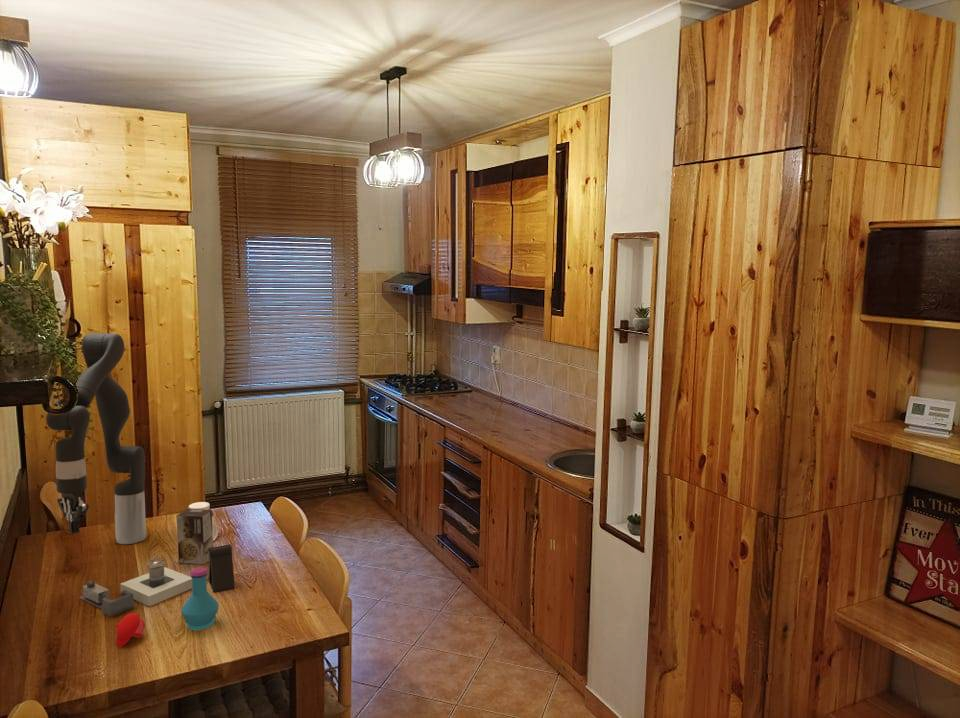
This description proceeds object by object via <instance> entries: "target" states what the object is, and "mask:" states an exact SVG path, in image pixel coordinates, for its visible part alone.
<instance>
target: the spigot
mask: <svg viewBox="0 0 960 718" xmlns="http://www.w3.org/2000/svg"><path fill="white" fill-rule="evenodd" d="M165 565H166V559H165V558H161V557H159V558H158V557H157V558H152V559H150V560H148V561H147V567H148V573H149V581H150V587H151V588H156V587H158V586H161V585H163V584H165V578H164V567H165Z"/></svg>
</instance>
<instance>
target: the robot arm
mask: <svg viewBox="0 0 960 718" xmlns="http://www.w3.org/2000/svg"><path fill="white" fill-rule="evenodd" d="M81 351H82V355H83V359H84V361H85V365H86V369H85V370H83V371H81V373H82V374H81V376H80V377H79V378H78V380H77V382H76V386H77V389H78V392H79V393H78V402H77V404H76V405H75V407H74V408H73V409H72V410H71V411H70V412H67V413H65V414H59V415H53V414H50V413H48V412H47V413H46V417H45V422H46V425H47V426H48V428H49V429H50V430H52V431H72V434H71V436H69V437H64V438H60V439H59V440H57V441H56V443H55V481H56V483H55V485H56V492H57V493H59V494H61V497H60V498H57V505H58V507H59V508H60V510H61V514H62V515H63V517H64V518H66V520H67V521H68V532H69V534H72V535H74V534H77V533H79V532H80V520H82V519H84V518H85V516H86V514H87V511H88V509H89V506H90V505H89V504H88V503H85V502H84V495H83V492H85V490H87V489H88V477H87V463H86V459H85V457H86V456H85V455H86V454H85V441H86V436H87V432H88V428H89V424H90V421H91V420H90V419H91V415H90V411H89V410H88V408H89V407H90V405H92V402H93V400H94V399H95V404H96V407H97V411H98V412H97V413H98V416H99V420H100V424H101V427H102V429H101V430H102V433H103V439H104V447H105V448H104V449H105V459H106V463H107V467H108V469H109V471H110V472H111V473H114V474H130V475H129V478H128V479H125V480H123V481H120V482H117V483H116V484H115V485H114V489H113V490H114V491H113V492H114V528H115V529H114V531H115V539H116V543H117V544H120V545H130V544H132V545H133V544H138V543H140V542H142V541H145V540H146V538H147V528H146V527H147V526H146V525H147V524H146V522H147V521H146V501H145V498H146V497H145V484H146V483H145V480H146V476H145V475H146V455H145V450H144V448H143V447H142V446H140V445H139V446H137V445H131V446H130V445H121V443H120V442H121V441H120V434H121V432H122V430H123V429H124V426H126V424H127V421H128V420H129V417H130V414H131V409H130V404H129V398H128V394H127V392H126V391H125V389H124V388H123V387H122V386H121V385H120V383H118V382H117V381H116V380H114V378H113V377H112V376H111V375H110V374H111V373H112V372H113V370H114V368H115V367H116V366H117V365H118V363H120V362H121V360H122V358H123V355H124V352H125V342H124V339H123V337H122V336H121V335H120V334H118V333H106V332H105V333H104V332H103V333H97V332H96V333H92V332H91V333H86V334H85V335H84V336H83V338H82V341H81ZM54 404H57V405H61V404H62V396H61V397H60V398H59V399H58V400H56V402H54Z"/></svg>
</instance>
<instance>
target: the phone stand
mask: <svg viewBox="0 0 960 718" xmlns="http://www.w3.org/2000/svg"><path fill="white" fill-rule="evenodd" d="M232 548H233V547H232V545H231V544H224V545H218V546H213V547H212V548H209V561H208V562H209V563H208V578H207V581H208V583H209V585H210V588H211V590H212V593H219V592H224V591H228V590H233V589H236V588H235V587H236V586H235V576H234V575H235V573H234V561H233V549H232Z"/></svg>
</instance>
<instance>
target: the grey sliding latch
mask: <svg viewBox="0 0 960 718" xmlns="http://www.w3.org/2000/svg"><path fill="white" fill-rule="evenodd" d="M78 599H80V600H82V601H85V602H86V603H88V604H90V605H93V606H95V607H96V608H98V609H100V610H102V611H101V612H102V614H104V615H105V616H107V617H110V618H112V617H114V616H116V615H118V614H122V613H123V612H126V611H129V610H131V609H134V608H135V600H134V597H133V593H130V592H128V591H126V590H124V591H122V594H121V596H119V597H117V598H114V599H111V598H109V599H107V598H103V599H102V603H100V604H98V603H96V602H94V601H92V600H90V599H88V598H86V597H84V596H83V595H82V596H79V597H78Z"/></svg>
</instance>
